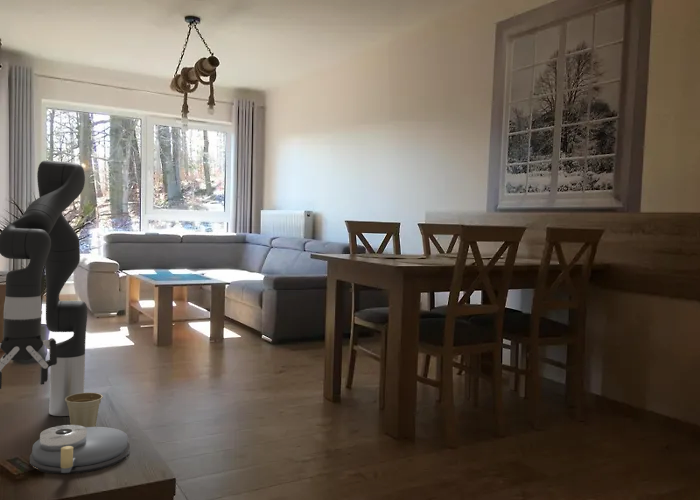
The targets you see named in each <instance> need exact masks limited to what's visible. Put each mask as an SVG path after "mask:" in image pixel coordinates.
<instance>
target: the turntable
mask: <svg viewBox="0 0 700 500" xmlns="http://www.w3.org/2000/svg"><path fill="white" fill-rule="evenodd" d="M85 428H86V429H87V439H86V444H85V445H84V446H82V447H80V448H77V449H74V450H73V447H72V446H65V447H62V448H61V452H47V451H43V450H41V449H40V438H39V439H37V440H36V441H35V442H34V443H33V444H32V448H31V449H32V450H31V453H32V458H33V460H34V461H36V462H37V463H40V464H42V465H46V466H53V467H61V473H68V472H70V471H71V469H72V467H77V466H85V465H91V464H96V463H100V462H104V461H107V460H110V459H112V458H114V457H117V456H118V455H120V454H122V453H123V452H124V451H125V450H126V449H127V446H128V443H129V437H128V434H127V433H126V432H125V431H124V430H121V429H118V428H113V427H106V426H95V427H85Z"/></svg>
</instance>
